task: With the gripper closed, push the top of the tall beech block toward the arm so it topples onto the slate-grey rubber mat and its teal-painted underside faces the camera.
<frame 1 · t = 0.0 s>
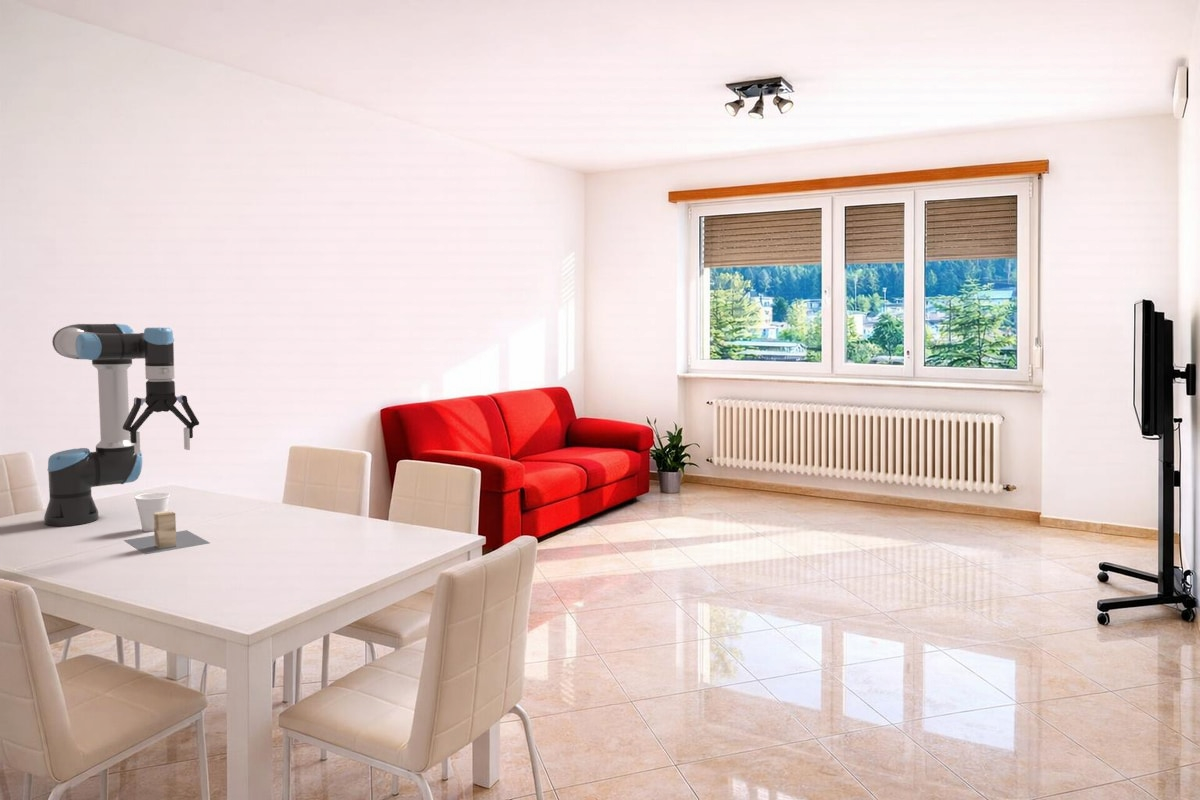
hand: (162, 451, 246), 28 cm above the table, fingers open, 13 cm apart
mat: (167, 542, 250), on the table
cup: (153, 530, 265), on the table
beech block: (165, 546, 245), resting on mat
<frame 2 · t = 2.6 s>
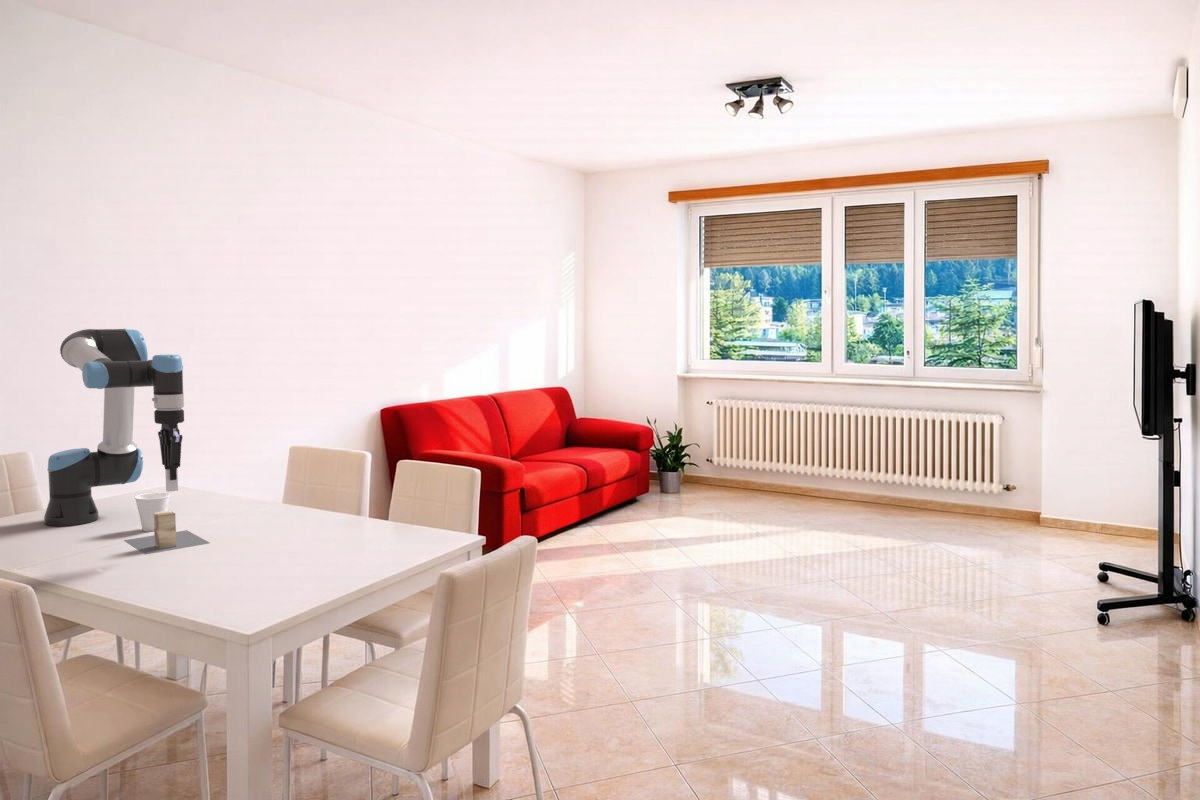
hand: (172, 490, 239), 18 cm above the table, fingers closed
nothing on the table moved.
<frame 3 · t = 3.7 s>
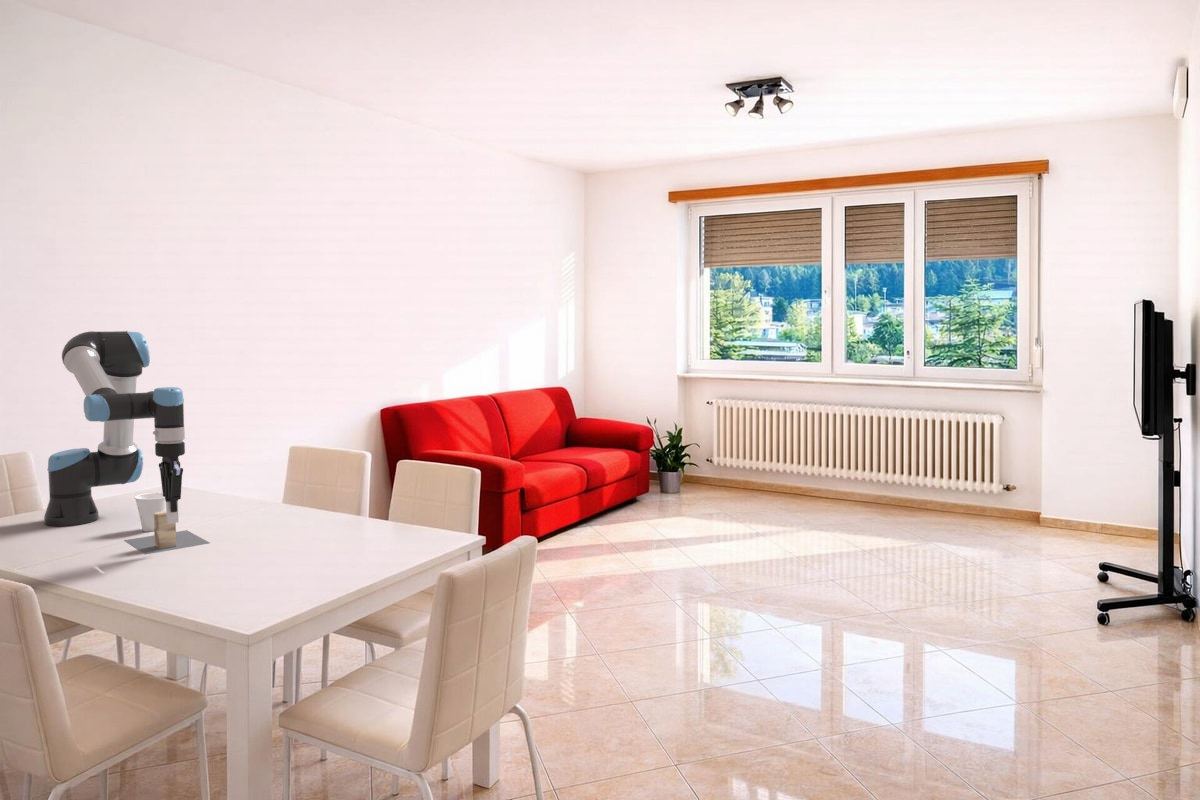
hand: (172, 522, 240), 9 cm above the table, fingers closed
nothing on the table moved.
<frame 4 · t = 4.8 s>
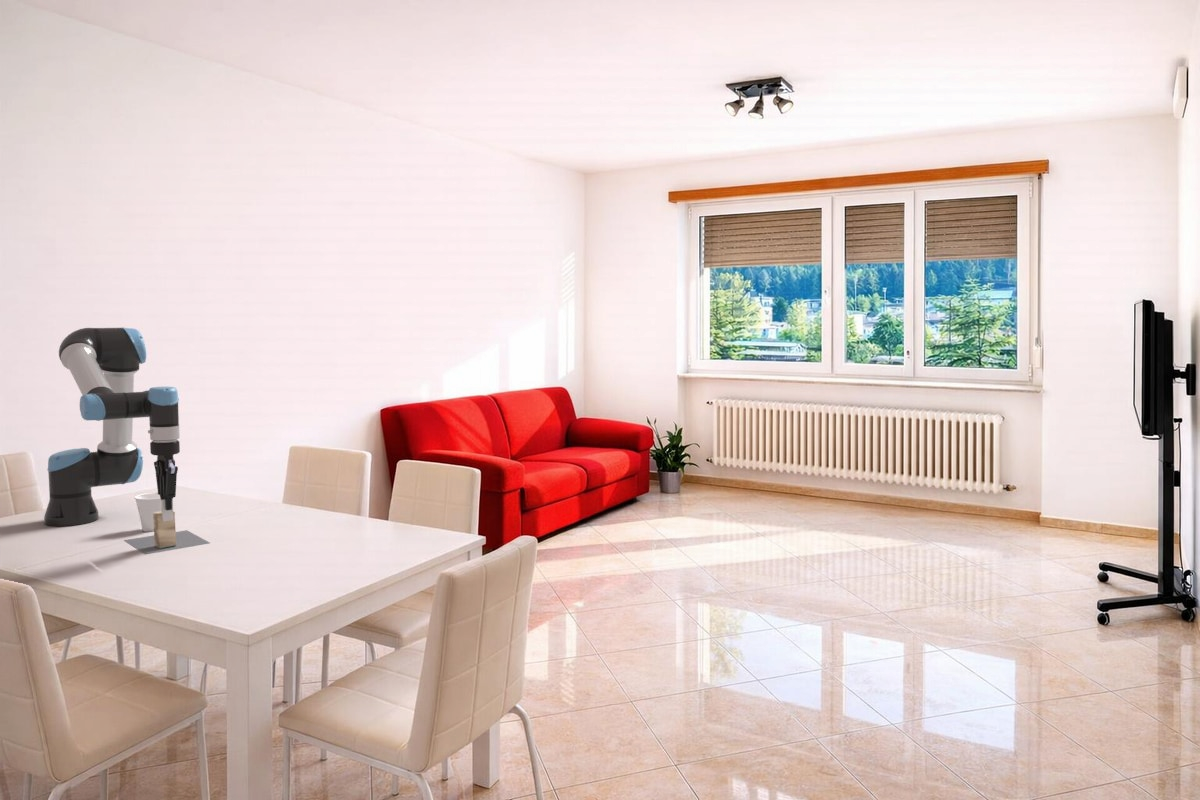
hand: (167, 520, 243), 9 cm above the table, fingers closed
beech block: (165, 545, 245), point 1 cm above the table, touching gripper, mat
everything else where it was.
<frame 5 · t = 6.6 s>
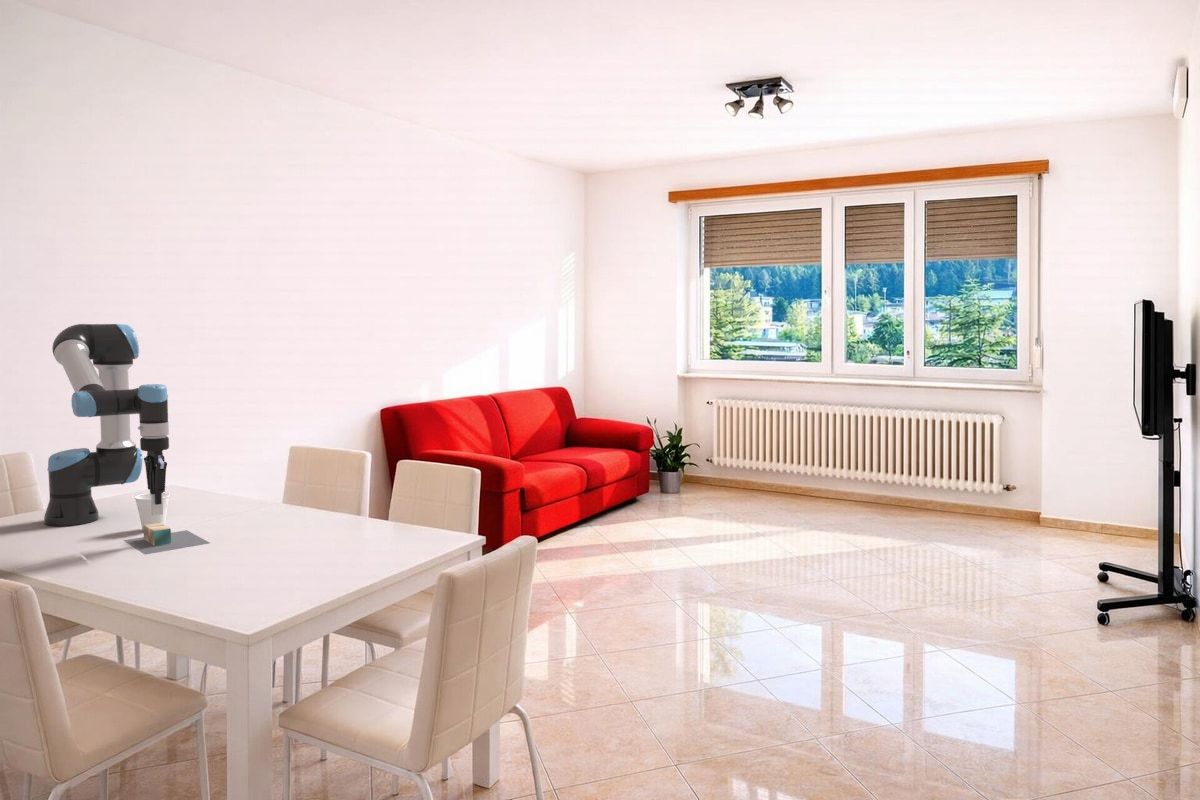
hand: (157, 514, 249), 9 cm above the table, fingers closed
beech block: (162, 537, 247), point 3 cm above the table, tilted 90°, touching mat
everything else where it was.
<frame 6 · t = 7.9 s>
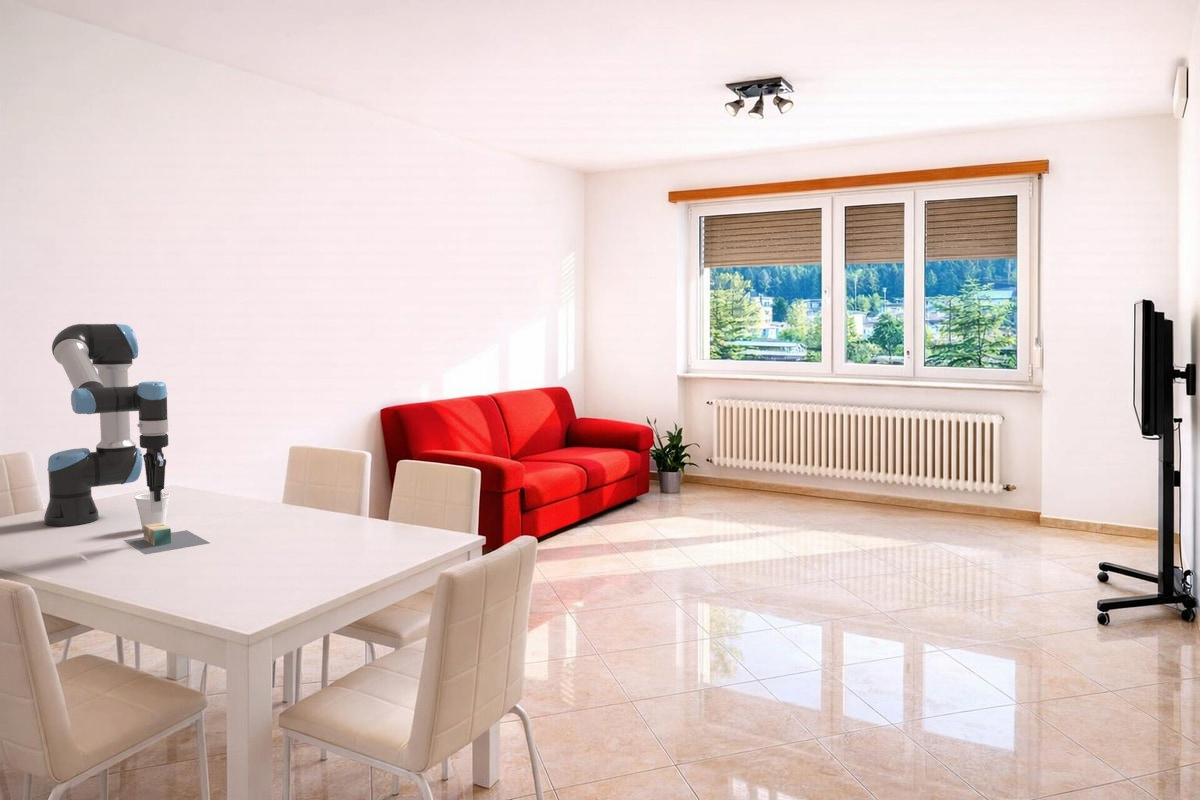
hand: (156, 511, 250), 10 cm above the table, fingers closed
nothing on the table moved.
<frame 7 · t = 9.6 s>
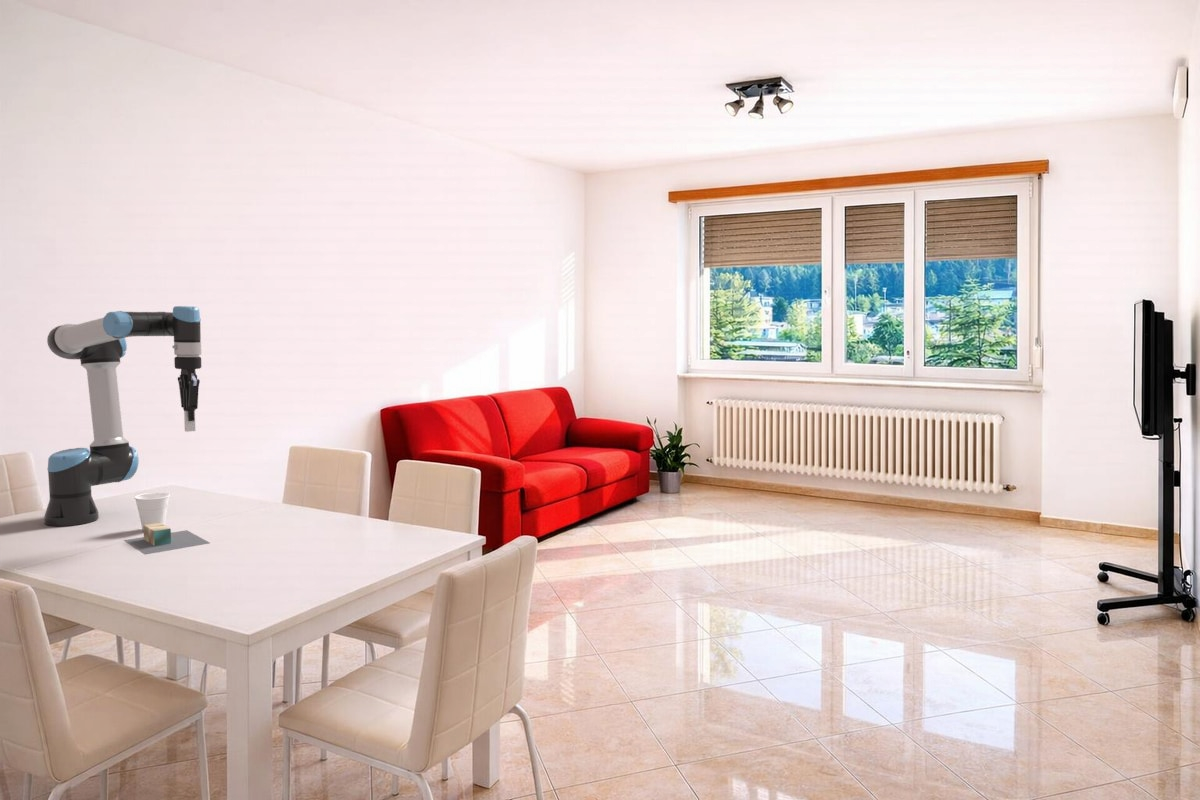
hand: (190, 431, 261), 32 cm above the table, fingers closed
nothing on the table moved.
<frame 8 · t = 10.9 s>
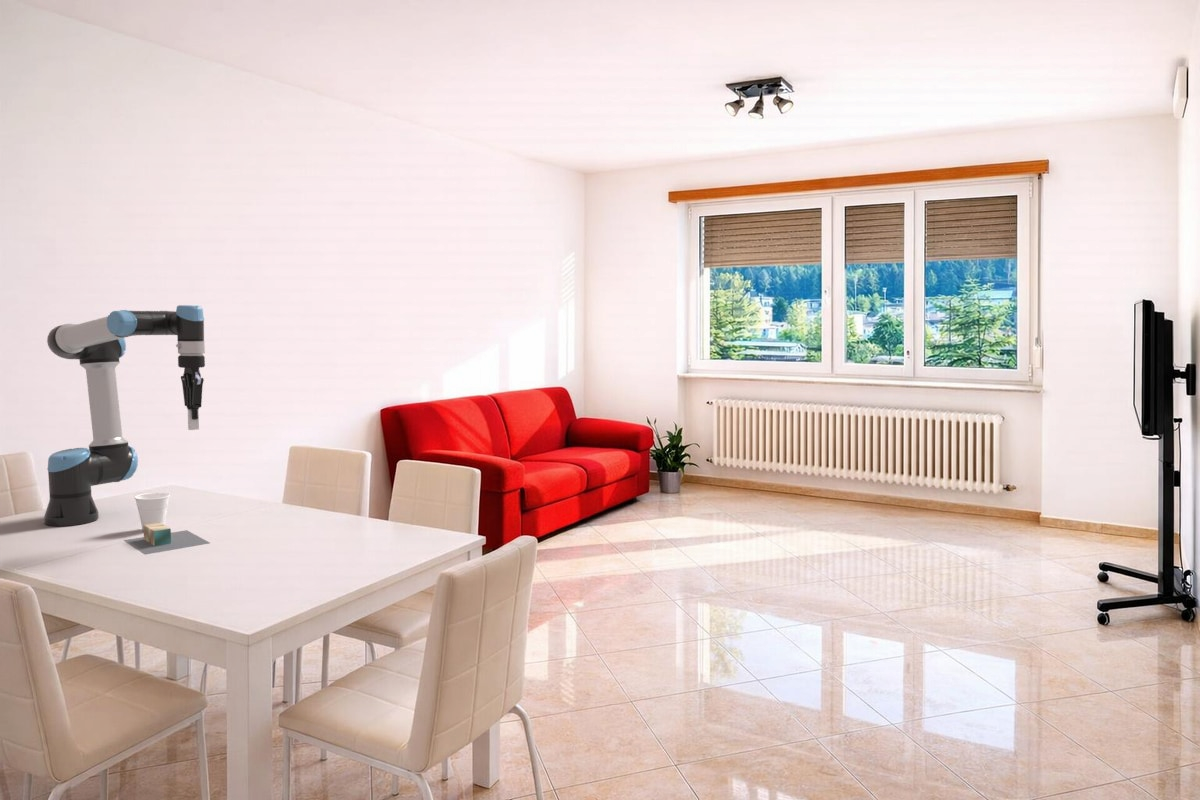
hand: (193, 429, 263), 32 cm above the table, fingers closed
nothing on the table moved.
at the end: beech block tilted 90°; beech block inside the target area (3.0 cm from its centre), point 2.6 cm above the table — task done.
